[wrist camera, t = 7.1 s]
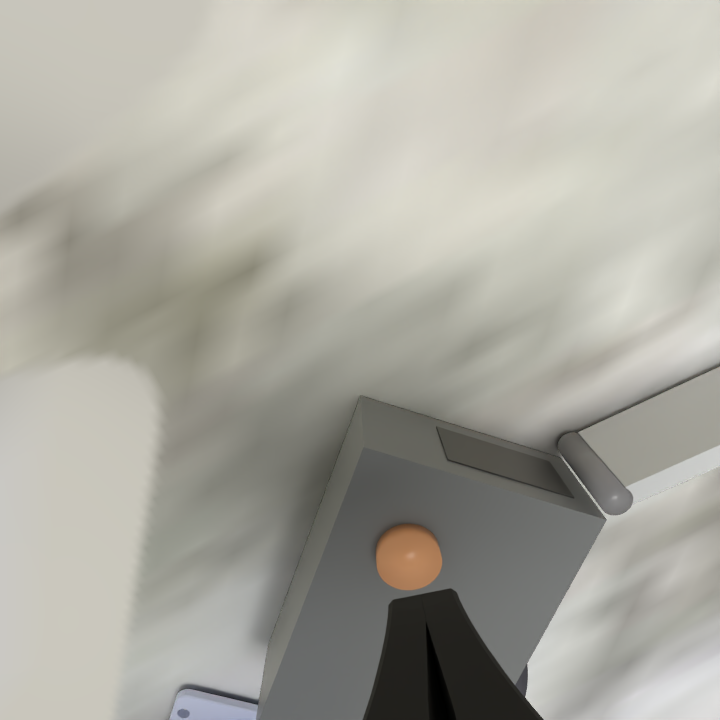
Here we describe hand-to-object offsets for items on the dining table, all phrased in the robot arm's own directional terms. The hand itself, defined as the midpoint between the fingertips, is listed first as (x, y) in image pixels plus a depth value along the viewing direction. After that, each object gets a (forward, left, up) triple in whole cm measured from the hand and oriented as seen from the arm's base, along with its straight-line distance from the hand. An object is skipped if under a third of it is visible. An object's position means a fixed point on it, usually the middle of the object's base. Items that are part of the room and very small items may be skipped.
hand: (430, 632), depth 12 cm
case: (-5, -2, -10) cm, 11 cm away
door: (+4, -9, -10) cm, 14 cm away
